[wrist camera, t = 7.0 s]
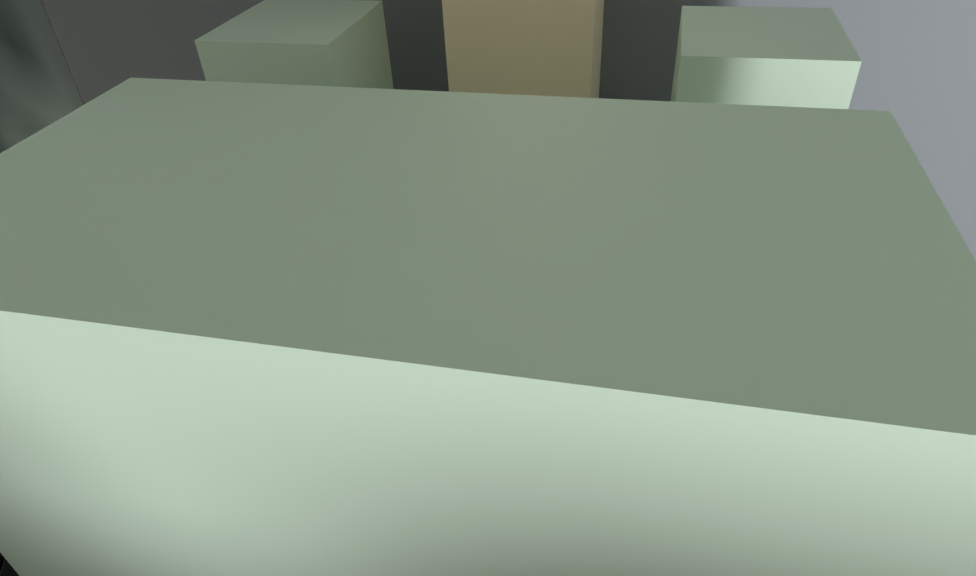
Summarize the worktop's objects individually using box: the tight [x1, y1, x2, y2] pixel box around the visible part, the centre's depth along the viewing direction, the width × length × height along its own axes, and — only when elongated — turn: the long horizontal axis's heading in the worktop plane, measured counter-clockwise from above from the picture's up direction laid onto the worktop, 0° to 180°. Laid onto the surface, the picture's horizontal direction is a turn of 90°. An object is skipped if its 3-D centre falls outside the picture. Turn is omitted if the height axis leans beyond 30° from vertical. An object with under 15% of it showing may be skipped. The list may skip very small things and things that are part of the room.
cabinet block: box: [0, 0, 976, 576], centre depth 8 cm, size 6×11×6 cm, turn 3°
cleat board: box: [41, 0, 976, 261], centre depth 11 cm, size 14×24×2 cm, turn 3°
